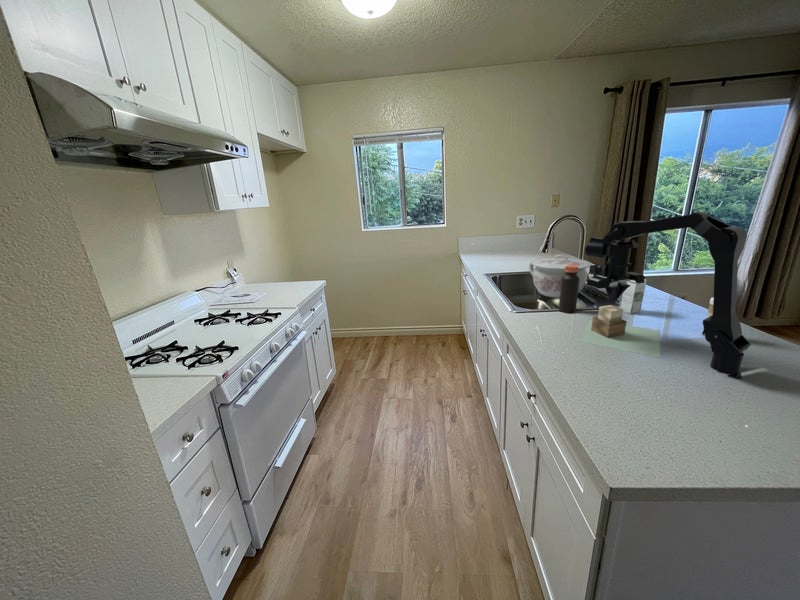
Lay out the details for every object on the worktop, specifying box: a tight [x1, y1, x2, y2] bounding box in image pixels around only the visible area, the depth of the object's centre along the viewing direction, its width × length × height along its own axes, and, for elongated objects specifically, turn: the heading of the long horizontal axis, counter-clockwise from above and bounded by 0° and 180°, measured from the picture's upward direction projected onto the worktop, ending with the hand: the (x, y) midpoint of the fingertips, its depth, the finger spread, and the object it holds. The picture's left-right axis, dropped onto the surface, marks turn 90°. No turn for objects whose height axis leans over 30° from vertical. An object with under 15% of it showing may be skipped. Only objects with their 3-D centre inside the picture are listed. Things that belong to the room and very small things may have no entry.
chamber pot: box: [528, 254, 593, 299], centre depth 160 cm, size 28×28×21 cm
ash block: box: [597, 304, 624, 323], centre depth 113 cm, size 5×5×5 cm
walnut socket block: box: [591, 315, 628, 338], centre depth 114 cm, size 7×7×5 cm
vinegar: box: [558, 265, 580, 314], centre depth 137 cm, size 7×7×20 cm
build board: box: [579, 319, 661, 358], centre depth 112 cm, size 24×22×1 cm
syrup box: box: [617, 279, 647, 315], centre depth 134 cm, size 6×6×14 cm
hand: (611, 303), depth 112 cm, fingers closed
